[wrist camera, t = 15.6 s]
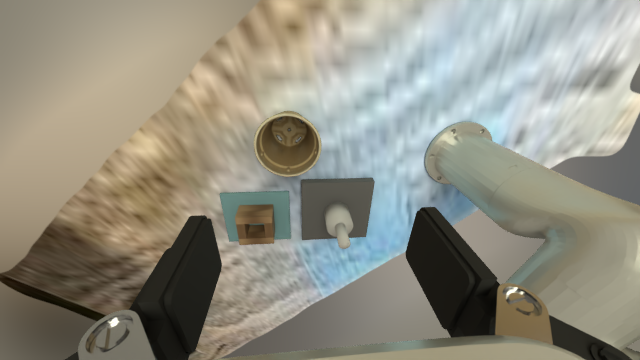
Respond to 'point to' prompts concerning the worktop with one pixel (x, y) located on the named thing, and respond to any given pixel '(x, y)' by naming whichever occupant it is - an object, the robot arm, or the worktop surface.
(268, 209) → the walnut link
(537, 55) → the worktop surface
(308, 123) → the flower pot
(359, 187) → the stand
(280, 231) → the mat
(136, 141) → the worktop surface
